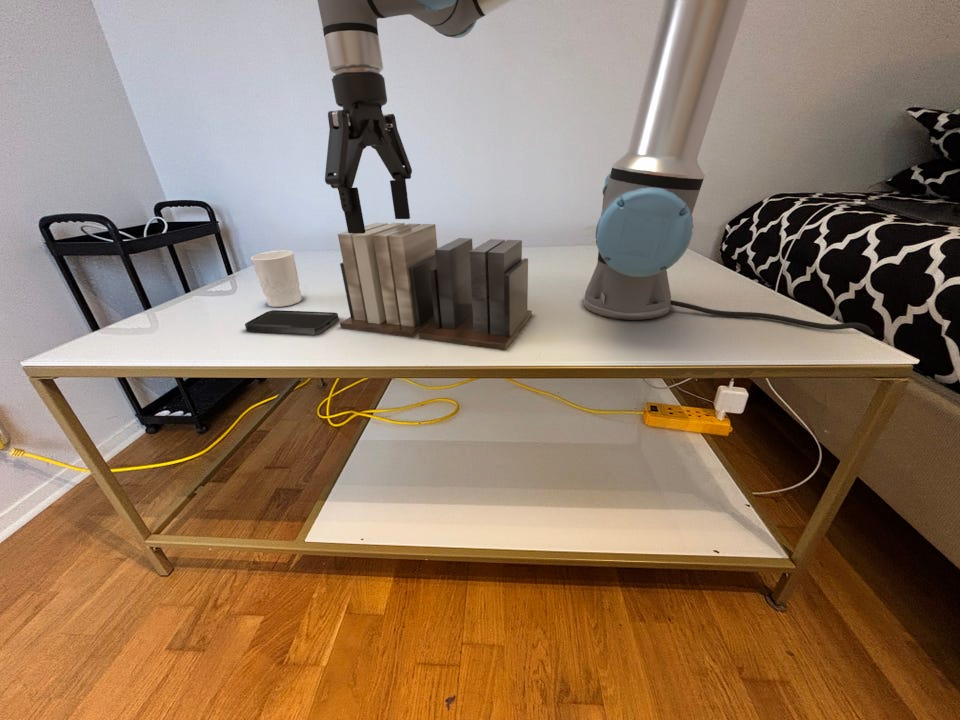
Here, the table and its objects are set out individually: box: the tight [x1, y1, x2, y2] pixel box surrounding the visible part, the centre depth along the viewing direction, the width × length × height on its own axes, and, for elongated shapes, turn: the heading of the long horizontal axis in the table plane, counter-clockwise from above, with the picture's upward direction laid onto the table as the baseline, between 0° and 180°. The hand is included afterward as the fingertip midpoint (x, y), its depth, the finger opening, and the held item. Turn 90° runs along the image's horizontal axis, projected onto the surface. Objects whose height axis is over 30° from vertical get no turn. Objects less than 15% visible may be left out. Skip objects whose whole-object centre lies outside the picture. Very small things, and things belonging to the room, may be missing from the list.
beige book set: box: [337, 222, 438, 339], centre depth 73 cm, size 15×15×16 cm
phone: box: [244, 309, 340, 336], centre depth 75 cm, size 8×1×15 cm
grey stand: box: [418, 237, 533, 351], centre depth 68 cm, size 15×15×14 cm
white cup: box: [250, 250, 303, 308], centre depth 85 cm, size 8×8×10 cm
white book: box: [352, 222, 406, 324], centre depth 73 cm, size 2×12×15 cm, turn 158°
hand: (381, 225), depth 70 cm, fingers open, 13 cm apart
